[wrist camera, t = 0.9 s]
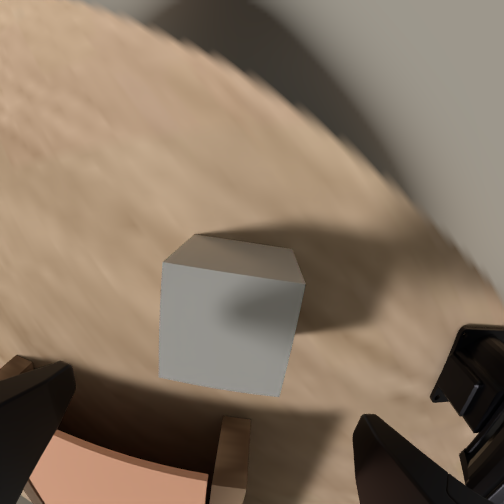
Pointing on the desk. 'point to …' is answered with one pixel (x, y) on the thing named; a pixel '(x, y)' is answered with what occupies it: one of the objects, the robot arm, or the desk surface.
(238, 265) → the gray cube
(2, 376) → the frame
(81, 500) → the trapdoor
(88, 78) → the desk surface
